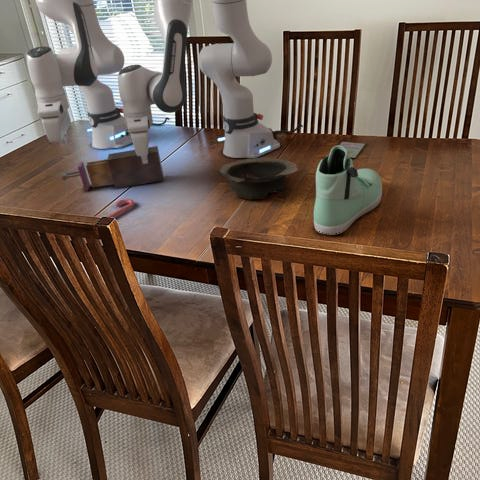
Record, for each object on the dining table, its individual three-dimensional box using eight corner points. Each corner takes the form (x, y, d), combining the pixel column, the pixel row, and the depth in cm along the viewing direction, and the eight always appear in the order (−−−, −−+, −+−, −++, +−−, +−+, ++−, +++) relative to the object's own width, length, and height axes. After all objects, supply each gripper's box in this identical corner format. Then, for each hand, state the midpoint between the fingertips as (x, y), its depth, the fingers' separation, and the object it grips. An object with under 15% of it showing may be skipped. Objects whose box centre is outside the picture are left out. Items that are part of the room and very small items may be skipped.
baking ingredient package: (331, 154, 173) (342, 141, 184) (330, 155, 173) (342, 142, 185) (355, 156, 169) (365, 143, 181) (355, 158, 170) (365, 144, 181)
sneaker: (389, 187, 148) (396, 123, 138) (356, 242, 123) (361, 168, 112) (346, 181, 154) (350, 119, 144) (306, 232, 129) (307, 161, 118)
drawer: (66, 193, 161) (58, 170, 157) (68, 188, 165) (60, 165, 161) (130, 182, 163) (124, 159, 158) (131, 177, 167) (125, 154, 162)
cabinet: (115, 188, 162) (107, 160, 157) (116, 181, 167) (108, 154, 162) (163, 180, 164) (157, 151, 158) (163, 173, 168) (157, 145, 163)
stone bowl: (243, 213, 140) (240, 183, 136) (209, 189, 160) (205, 162, 156) (313, 190, 149) (312, 161, 144) (272, 170, 169) (270, 144, 165)
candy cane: (88, 221, 143) (87, 216, 143) (125, 200, 153) (124, 196, 153) (102, 225, 140) (101, 221, 139) (138, 204, 150) (137, 200, 150)
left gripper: (49, 96, 157) (60, 137, 164) (36, 114, 139) (49, 158, 147) (68, 94, 157) (78, 135, 164) (58, 111, 140) (70, 156, 147)
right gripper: (130, 110, 163) (137, 149, 170) (127, 129, 146) (135, 171, 153) (148, 108, 164) (154, 147, 171) (147, 127, 146) (154, 169, 153)
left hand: (64, 146), depth 155 cm, fingers closed
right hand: (145, 159), depth 162 cm, fingers closed on cabinet, 6 cm apart
